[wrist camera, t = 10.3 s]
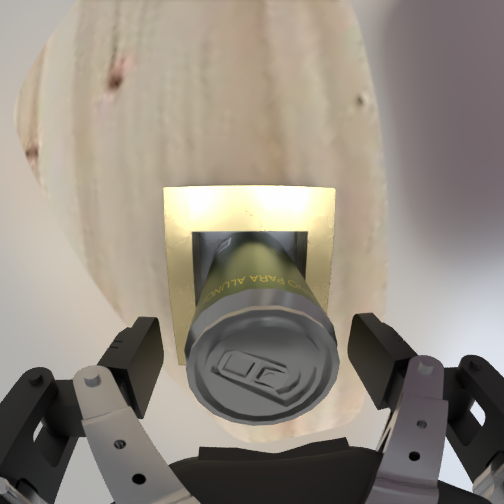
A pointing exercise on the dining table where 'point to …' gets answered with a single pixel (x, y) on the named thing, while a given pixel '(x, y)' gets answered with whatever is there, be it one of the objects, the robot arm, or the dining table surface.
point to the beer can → (259, 336)
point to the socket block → (236, 221)
